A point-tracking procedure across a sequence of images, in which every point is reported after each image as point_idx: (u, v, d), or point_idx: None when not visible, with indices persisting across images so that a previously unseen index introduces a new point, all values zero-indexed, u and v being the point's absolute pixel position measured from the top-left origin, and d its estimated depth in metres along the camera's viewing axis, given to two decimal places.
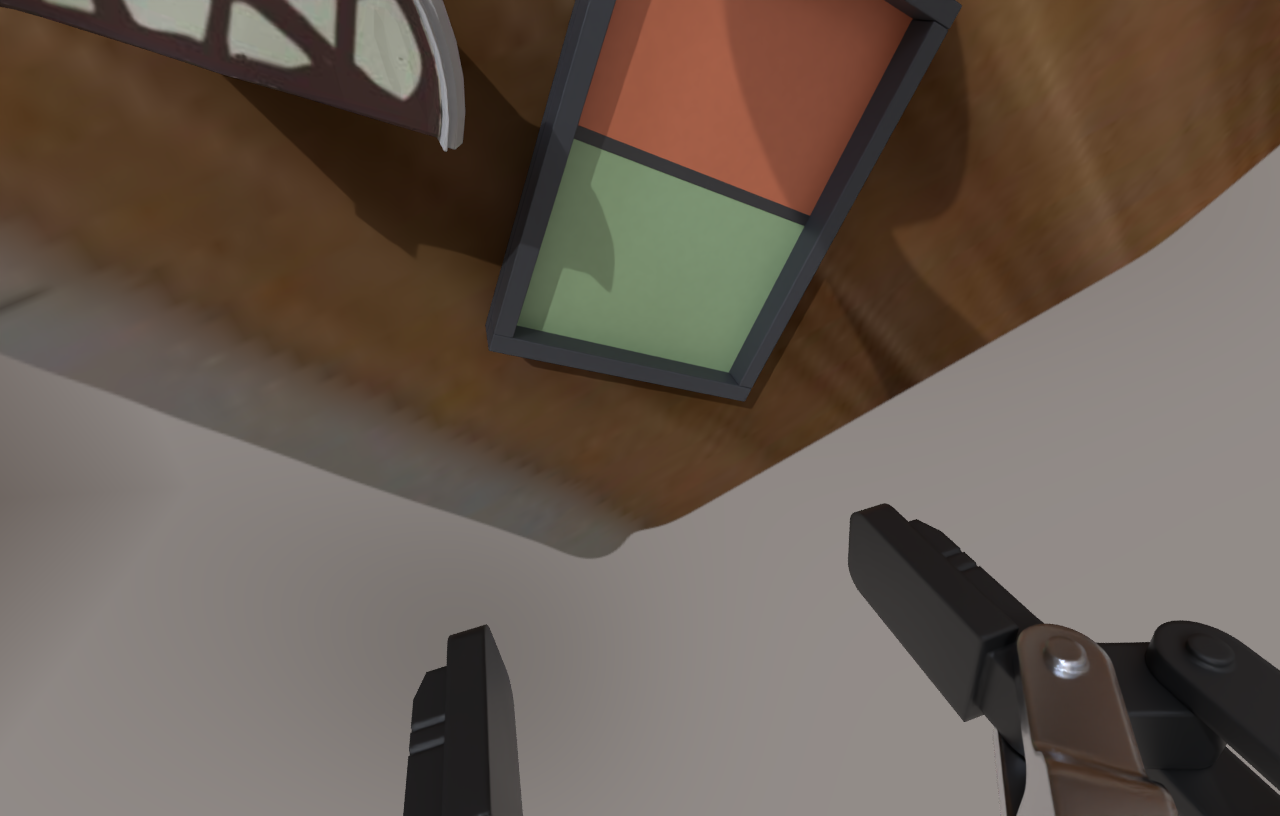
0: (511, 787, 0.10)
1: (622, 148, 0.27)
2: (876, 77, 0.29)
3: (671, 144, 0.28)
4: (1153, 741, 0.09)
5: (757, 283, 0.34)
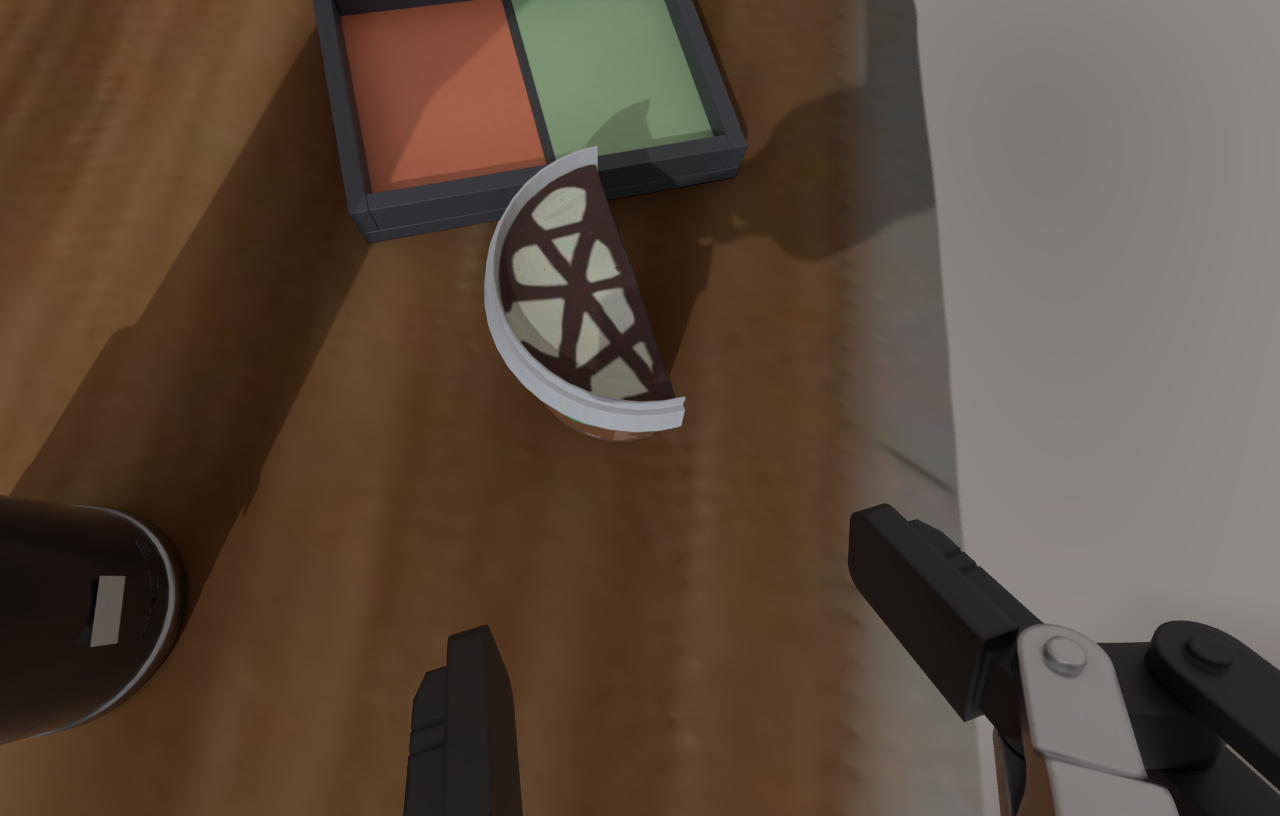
0: (511, 787, 0.10)
1: (544, 143, 0.34)
2: (387, 14, 0.36)
3: (520, 115, 0.34)
4: (1153, 741, 0.09)
5: (572, 1, 0.37)
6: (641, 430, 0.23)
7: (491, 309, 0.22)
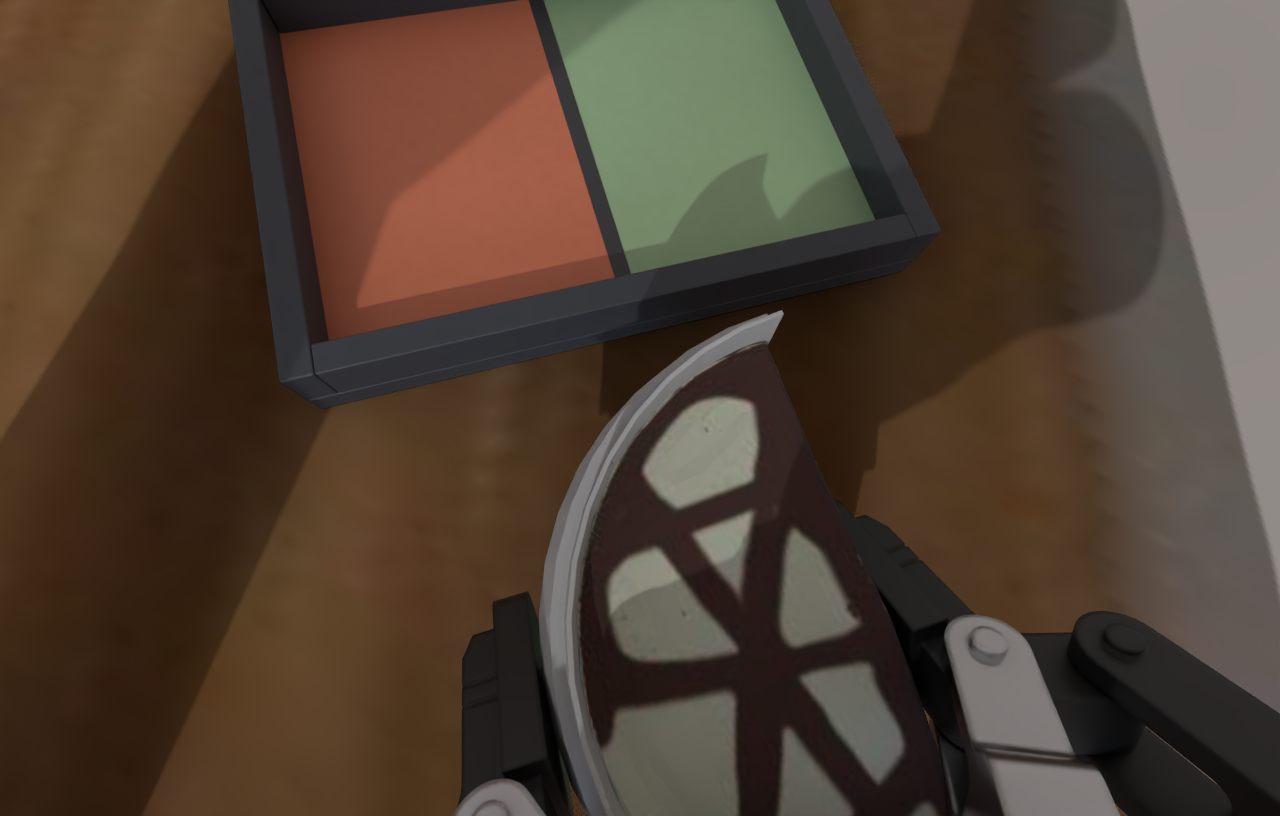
0: None
1: (607, 231, 0.21)
2: (353, 29, 0.23)
3: (566, 185, 0.21)
4: (1072, 727, 0.09)
5: (638, 3, 0.24)
6: None
7: (567, 746, 0.09)
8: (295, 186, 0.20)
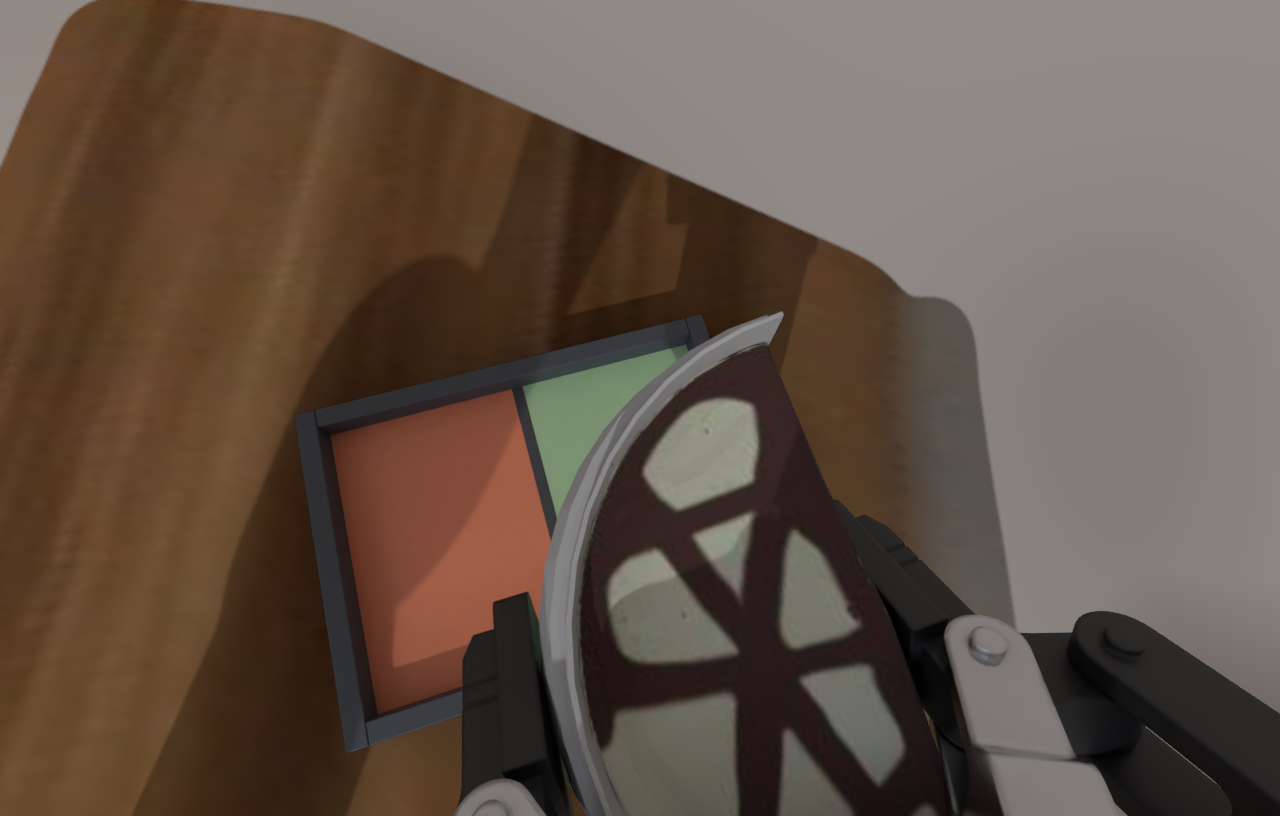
0: None
1: None
2: (383, 426, 0.31)
3: (539, 554, 0.30)
4: (1072, 727, 0.09)
5: (593, 386, 0.33)
6: None
7: (567, 748, 0.09)
8: (348, 580, 0.28)
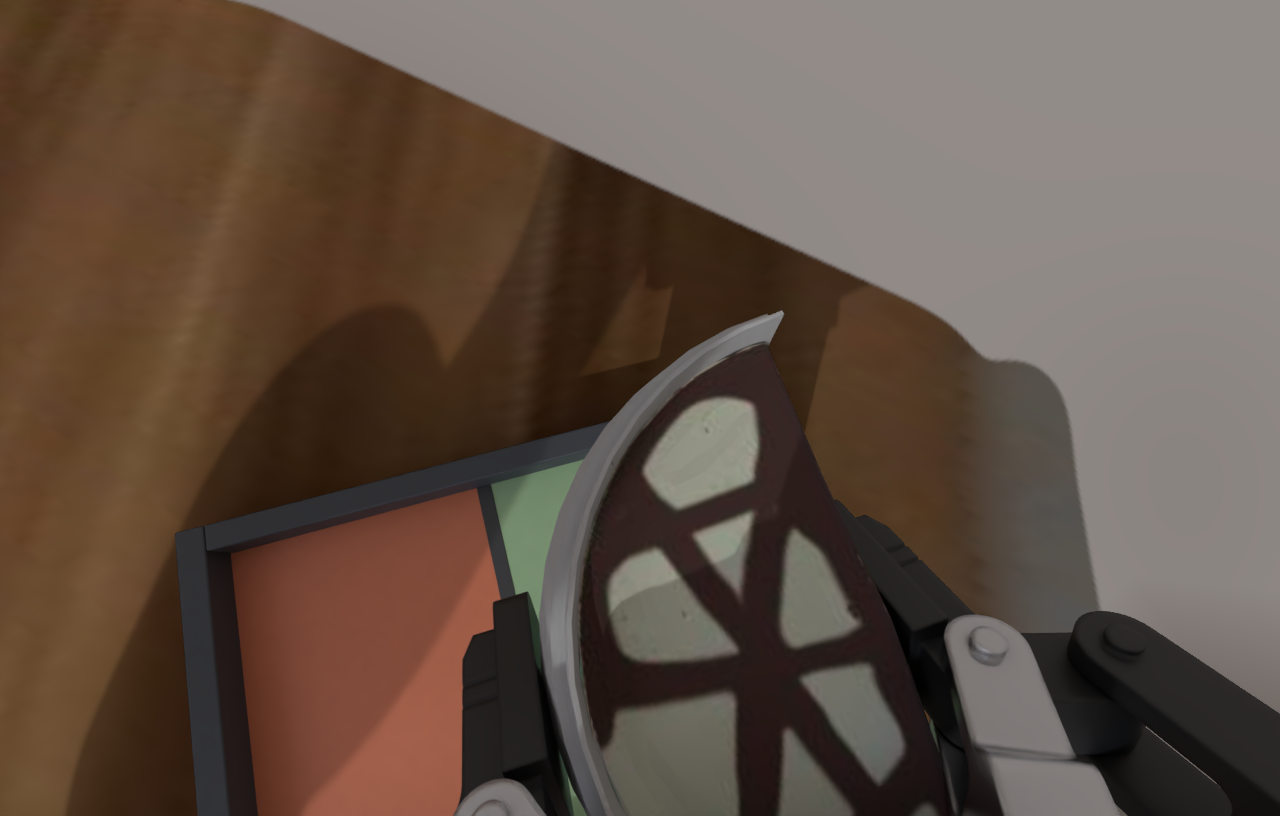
0: None
1: None
2: (303, 541, 0.23)
3: None
4: (1072, 727, 0.09)
5: None
6: None
7: (567, 747, 0.09)
8: (240, 772, 0.20)
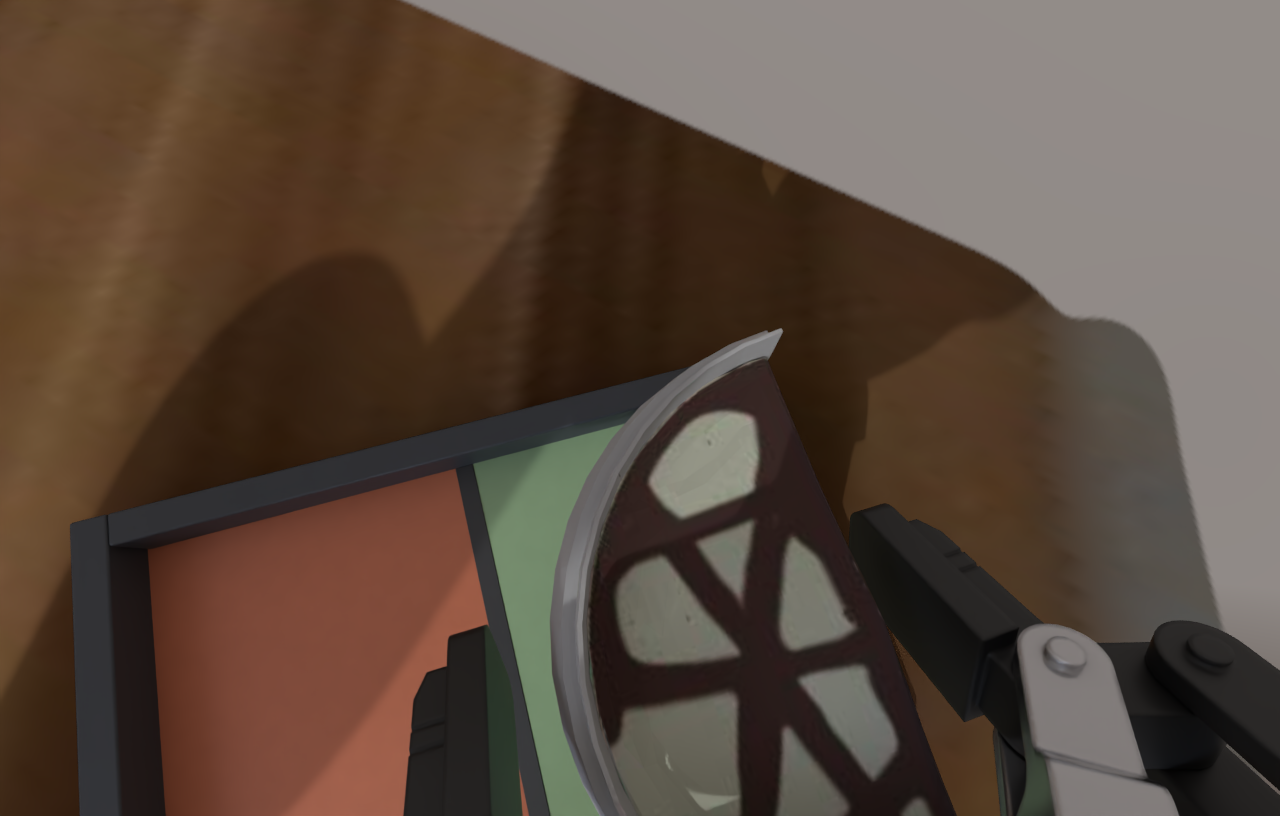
0: (511, 787, 0.10)
1: None
2: (239, 534, 0.19)
3: None
4: (1153, 741, 0.09)
5: (588, 464, 0.20)
6: None
7: (578, 745, 0.10)
8: None
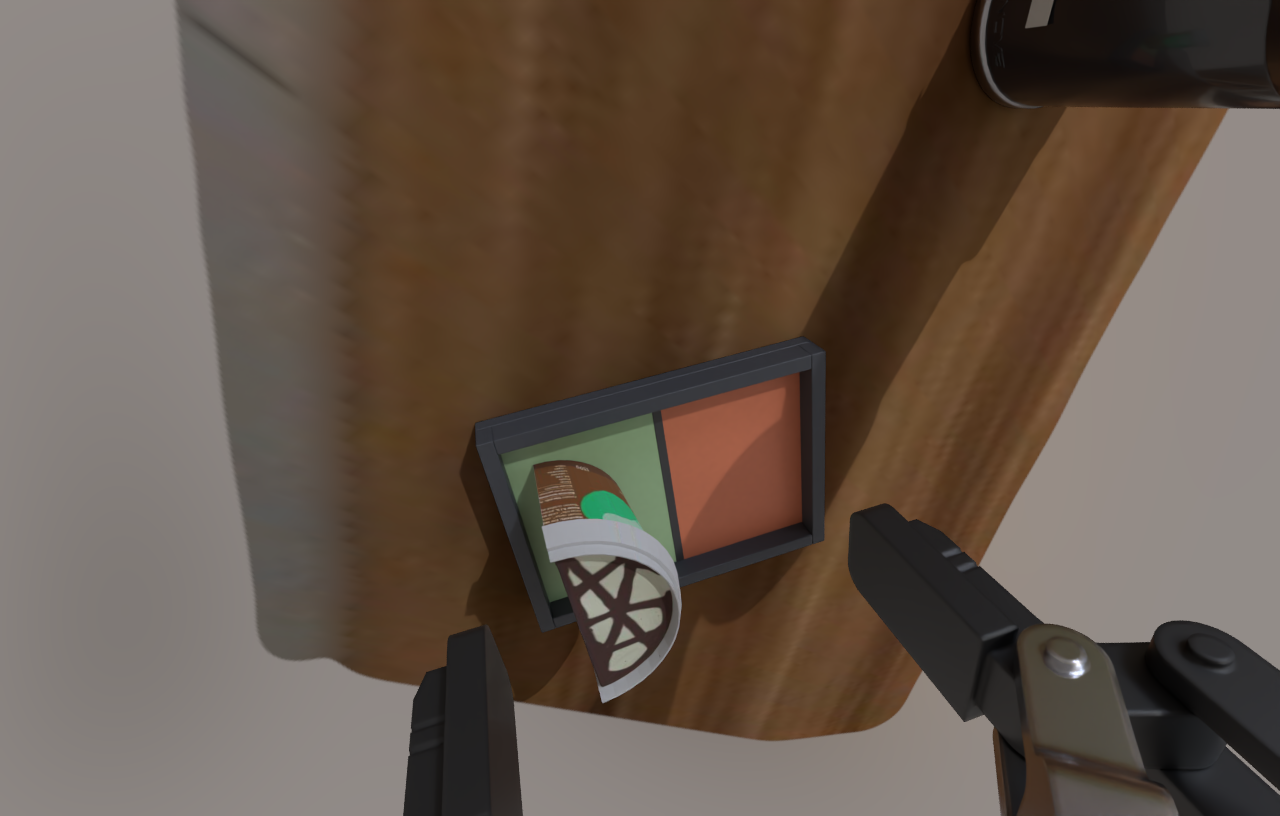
0: (511, 787, 0.10)
1: (660, 434, 0.38)
2: (769, 529, 0.44)
3: (678, 457, 0.39)
4: (1153, 741, 0.09)
5: None
6: (574, 521, 0.29)
7: (679, 591, 0.32)
8: (806, 444, 0.41)
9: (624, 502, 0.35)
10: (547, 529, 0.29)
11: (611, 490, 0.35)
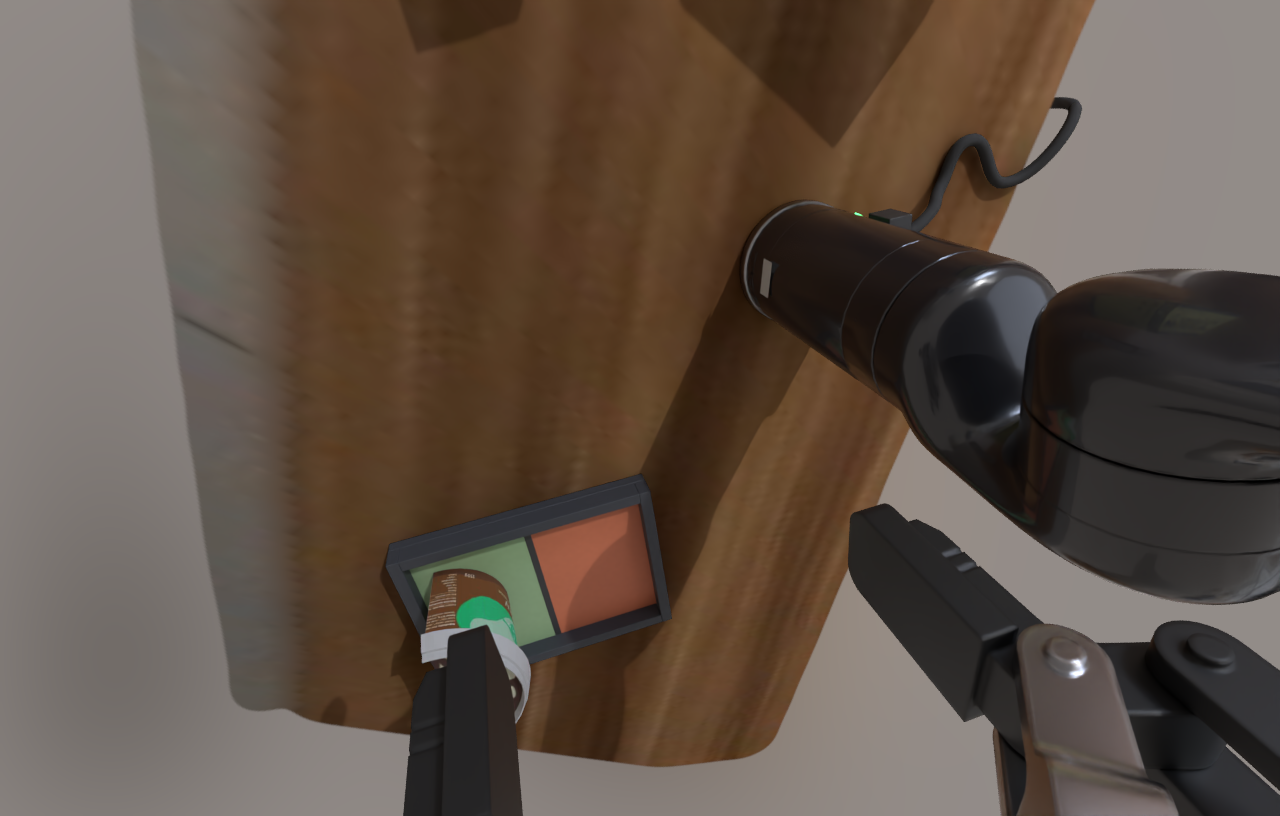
0: (511, 787, 0.10)
1: (531, 547, 0.51)
2: (630, 609, 0.57)
3: (548, 562, 0.52)
4: (1153, 741, 0.09)
5: None
6: (443, 631, 0.42)
7: (525, 675, 0.45)
8: (648, 551, 0.54)
9: (498, 602, 0.49)
10: (424, 637, 0.42)
11: (488, 594, 0.48)
